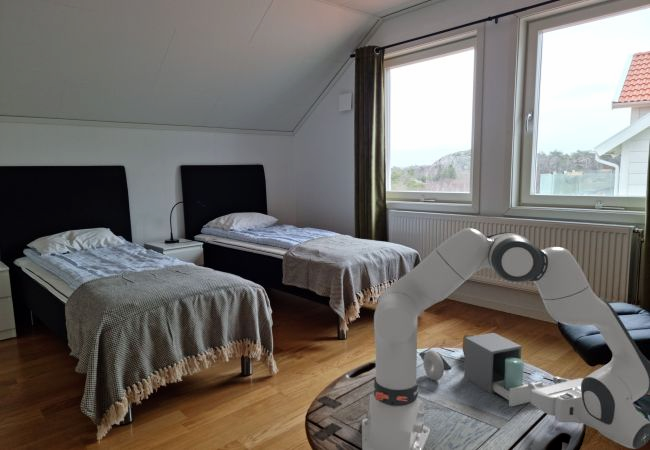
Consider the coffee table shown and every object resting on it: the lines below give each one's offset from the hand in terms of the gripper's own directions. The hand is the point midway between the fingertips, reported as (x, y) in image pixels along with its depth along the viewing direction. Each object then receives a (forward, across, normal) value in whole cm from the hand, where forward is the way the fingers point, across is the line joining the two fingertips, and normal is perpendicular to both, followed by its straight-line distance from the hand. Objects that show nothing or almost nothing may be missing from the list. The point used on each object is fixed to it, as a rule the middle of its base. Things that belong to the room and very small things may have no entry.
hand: (542, 381), depth 133 cm
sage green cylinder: (+11, 0, +8) cm, 13 cm away
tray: (+12, 0, +9) cm, 15 cm away
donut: (+30, +17, +10) cm, 36 cm away
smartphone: (+42, +8, +10) cm, 44 cm away
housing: (+21, 0, +9) cm, 23 cm away
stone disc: (+38, -4, +10) cm, 39 cm away
